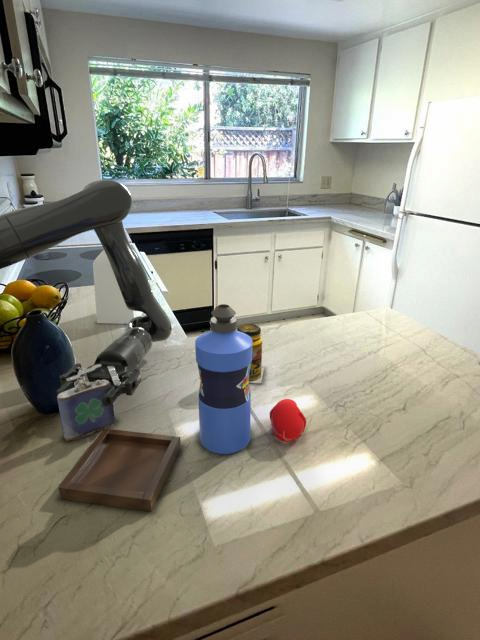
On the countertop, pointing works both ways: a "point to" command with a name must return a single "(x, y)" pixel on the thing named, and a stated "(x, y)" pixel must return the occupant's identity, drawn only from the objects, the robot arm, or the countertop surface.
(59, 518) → the countertop surface
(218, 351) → the water bottle
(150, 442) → the tray
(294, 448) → the countertop surface
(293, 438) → the cap
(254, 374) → the condiment
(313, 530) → the countertop surface
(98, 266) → the milk
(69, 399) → the flask
